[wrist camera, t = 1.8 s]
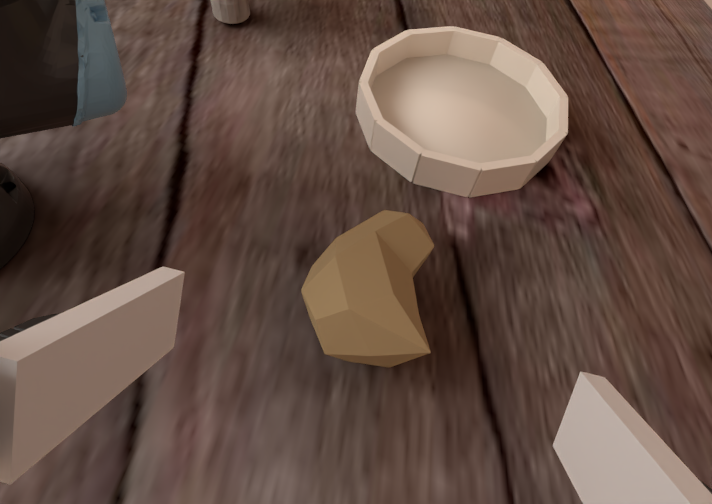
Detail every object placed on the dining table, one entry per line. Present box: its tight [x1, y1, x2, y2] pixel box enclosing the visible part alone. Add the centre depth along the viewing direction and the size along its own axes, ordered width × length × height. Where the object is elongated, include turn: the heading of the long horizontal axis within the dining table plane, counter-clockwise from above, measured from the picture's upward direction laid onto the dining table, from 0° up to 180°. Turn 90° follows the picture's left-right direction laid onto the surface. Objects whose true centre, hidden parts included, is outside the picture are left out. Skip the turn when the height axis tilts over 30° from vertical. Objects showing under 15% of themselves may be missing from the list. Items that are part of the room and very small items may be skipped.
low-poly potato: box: [301, 210, 434, 368], centre depth 37 cm, size 15×11×12 cm
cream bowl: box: [356, 26, 568, 198], centre depth 54 cm, size 24×24×4 cm
